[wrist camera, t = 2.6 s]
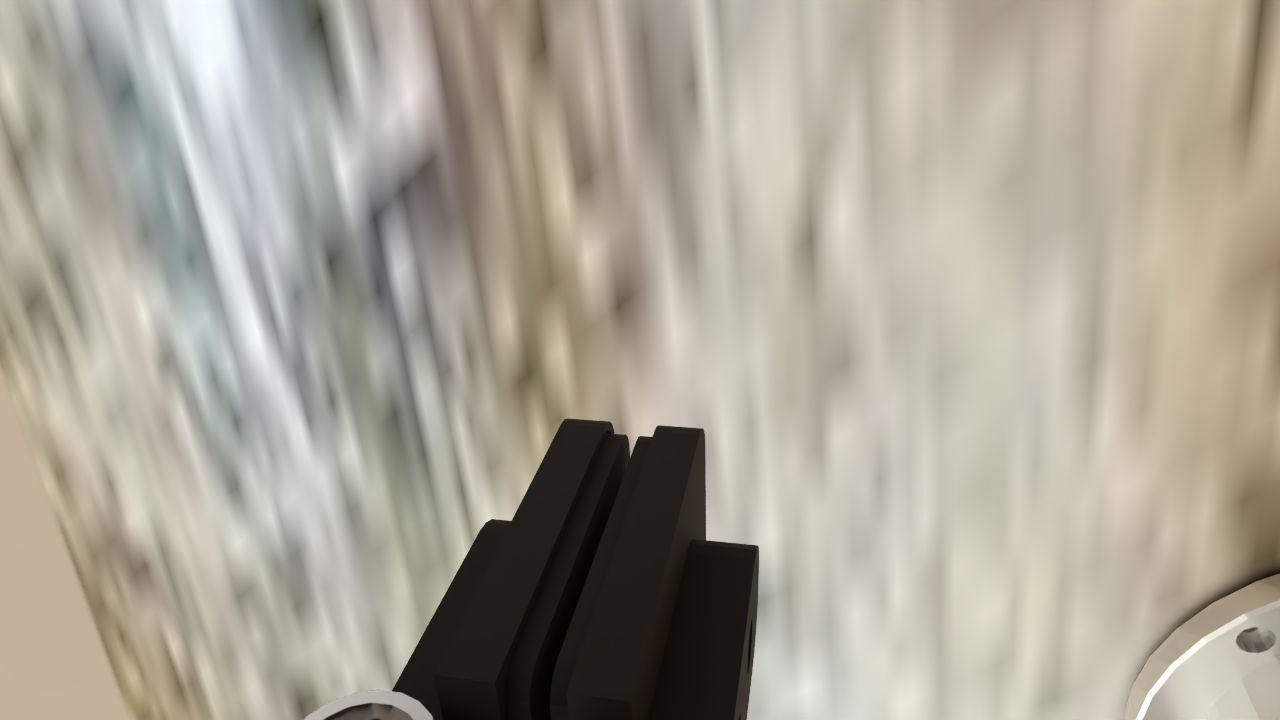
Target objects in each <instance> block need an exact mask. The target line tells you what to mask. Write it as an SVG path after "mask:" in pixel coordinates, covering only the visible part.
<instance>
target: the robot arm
mask: <svg viewBox="0 0 1280 720" xmlns="http://www.w3.org/2000/svg"><path fill="white" fill-rule="evenodd" d="M758 573H759V547H758V546H756V545H746V544H736V543H726V542H716V541H706V491H705V434H704V430H703V429H699V428H686V427H672V426H657V427H656V429H655V432H654V435H653V437H645V436H639V437H638V439H637V441H636V444H635V447H634V450H633V452H632V455H631V458H630V451H629V440H628V437H627V436H626V435H620V434H614V429H613V426H612V424H611V422H606V421H593V420H579V419H565V420H564V421H563V422H562V424H561V425H560V427H559V429H558V431H557V433H556V435H555V437H554V439H553V441H552V443H551V445H550V447H549V449H548V451H547V453H546V455H545V457H544V459H543V461H542V463H541V465H540V467H539V469H538V471H537V473H536V475H535V476H534V478H533V480H532V482H531V484H530V486H529V488H528V490H527V492H526V494H525V496H524V498H523V500H522V502H521V504H520V506H519V508H518V510H517V512H516V514H515V516H514V518H513V520H512V521H505V520H495V519H492V520H490V521H488V522H486V523H485V525H484V526H483V528H482V529H481V530H480V532H479V534H478V536H477V537H476V539H475V541H474V543H473V545H472V546H471V548H470V550H469V552H468V554H467V556H466V557H465V559H464V561H463V563H462V565H461V566H460V568H459V570H458V572H457V574H456V576H455V577H454V579H453V581H452V583H451V585H450V586H449V588H448V590H447V592H446V594H445V596H444V597H443V599H442V601H441V603H440V605H439V606H438V608H437V610H436V612H435V614H434V616H433V617H432V619H431V621H430V623H429V625H428V626H427V628H426V630H425V632H424V634H423V636H422V637H421V639H420V641H419V643H418V645H417V646H416V648H415V650H414V652H413V654H412V656H411V657H410V659H409V661H408V663H407V665H406V666H405V668H404V670H403V672H402V674H401V676H400V677H399V679H398V681H397V683H396V685H395V686H394V688H393V690H392V691H385V690H373V691H365V692H356V693H353V694H350V695H347V696H345V697H342V698H339V699H336V700H333V701H331V702H329V703H328V704H326V705H324V706H323V707H321V708H319V709H318V710H316V711H315V712H313V713H311V714H310V715H308V716H307V717H306V718H305V719H304V720H746V719H747V711H748V702H749V694H750V685H751V676H752V667H753V658H754V647H755V635H756V621H757V603H758ZM1124 720H1280V574H1277V575H1274V576H1271V577H1268V578H1265V579H1262V580H1259V581H1256V582H1254V583H1252V584H1250V585H1248V586H1246V587H1244V588H1242V589H1240V590H1238V591H1236V592H1234V593H1232V594H1230V595H1228V596H1226V597H1224V598H1222V599H1220V600H1218V601H1216V602H1214V603H1212V604H1211V605H1209V606H1208V607H1206V608H1205V609H1204V610H1202V611H1201V612H1199V613H1198V614H1197V615H1195V616H1194V617H1192V618H1191V619H1190V620H1188V621H1187V622H1185V623H1184V624H1183V625H1181V626H1180V627H1178V628H1177V629H1176V630H1175V631H1174V632H1173V633H1172V634H1171V635H1170V636H1169V637H1168V638H1167V639H1166V640H1165V641H1164V642H1163V643H1162V644H1161V646H1160V647H1159V648H1158V649H1157V650H1156V651H1155V652H1154V653H1153V654H1152V655H1151V656H1150V657H1149V659H1148V660H1147V662H1146V664H1145V665H1144V667H1143V669H1142V671H1141V672H1140V674H1139V676H1138V677H1137V679H1136V681H1135V682H1134V684H1133V686H1132V689H1131V692H1130V696H1129V699H1128V703H1127V706H1126V710H1125V713H1124Z"/></svg>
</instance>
